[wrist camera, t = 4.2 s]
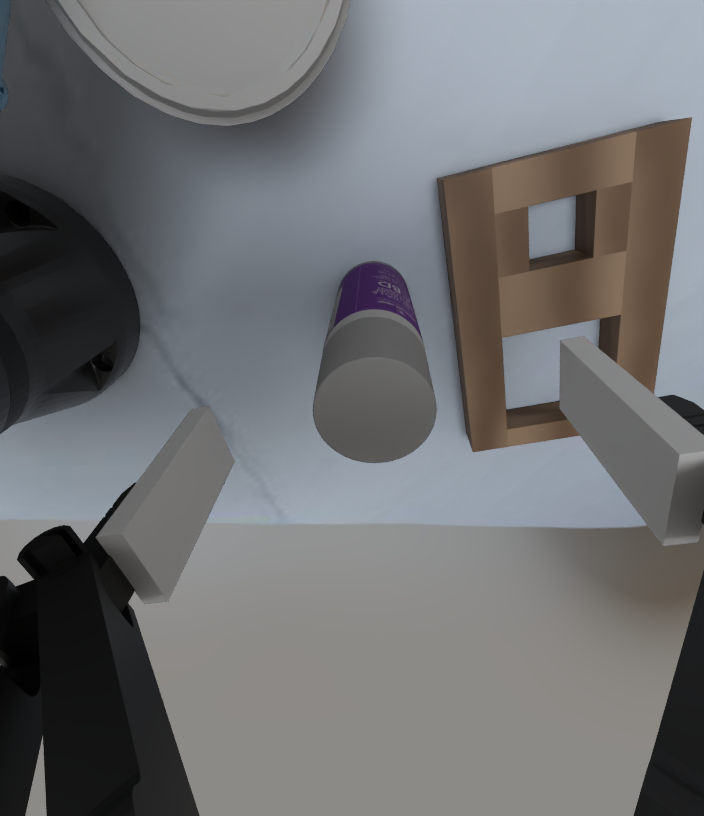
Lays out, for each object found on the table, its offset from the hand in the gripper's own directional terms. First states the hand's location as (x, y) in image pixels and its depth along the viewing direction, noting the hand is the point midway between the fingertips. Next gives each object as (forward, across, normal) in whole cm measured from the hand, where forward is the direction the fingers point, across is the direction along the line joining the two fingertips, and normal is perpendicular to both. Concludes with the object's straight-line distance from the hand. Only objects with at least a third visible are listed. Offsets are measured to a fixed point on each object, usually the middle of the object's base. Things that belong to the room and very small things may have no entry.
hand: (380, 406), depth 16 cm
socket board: (+14, +11, -3) cm, 18 cm away
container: (+14, 0, 0) cm, 14 cm away
